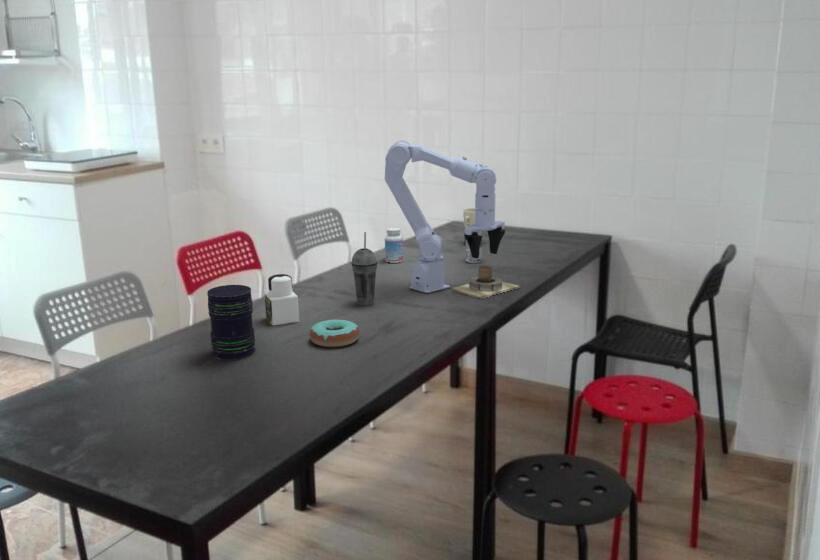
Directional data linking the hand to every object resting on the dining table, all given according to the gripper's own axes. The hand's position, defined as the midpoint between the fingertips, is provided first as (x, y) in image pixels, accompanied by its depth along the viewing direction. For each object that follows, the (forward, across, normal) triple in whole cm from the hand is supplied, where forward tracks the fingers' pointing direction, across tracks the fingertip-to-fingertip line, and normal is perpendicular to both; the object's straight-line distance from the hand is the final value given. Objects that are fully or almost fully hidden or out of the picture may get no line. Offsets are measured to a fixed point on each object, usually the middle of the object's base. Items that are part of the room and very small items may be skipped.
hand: (484, 255), depth 222 cm
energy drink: (+10, +21, +26) cm, 35 cm away
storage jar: (+10, -81, +1) cm, 81 cm away
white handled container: (+10, -60, +14) cm, 62 cm away
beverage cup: (+10, -35, +12) cm, 38 cm away
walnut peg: (+9, -1, -1) cm, 9 cm away
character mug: (+10, +40, +45) cm, 61 cm away
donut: (+10, -59, -8) cm, 60 cm away
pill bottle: (+10, +2, +44) cm, 45 cm away
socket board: (+10, -1, -1) cm, 10 cm away
